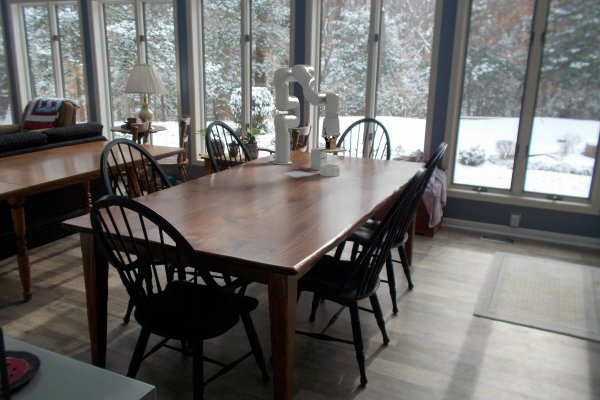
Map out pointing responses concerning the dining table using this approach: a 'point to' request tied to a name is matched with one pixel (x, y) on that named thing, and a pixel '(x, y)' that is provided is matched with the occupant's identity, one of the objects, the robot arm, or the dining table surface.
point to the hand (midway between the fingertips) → (330, 147)
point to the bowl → (329, 170)
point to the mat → (298, 174)
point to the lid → (331, 147)
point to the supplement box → (318, 159)
